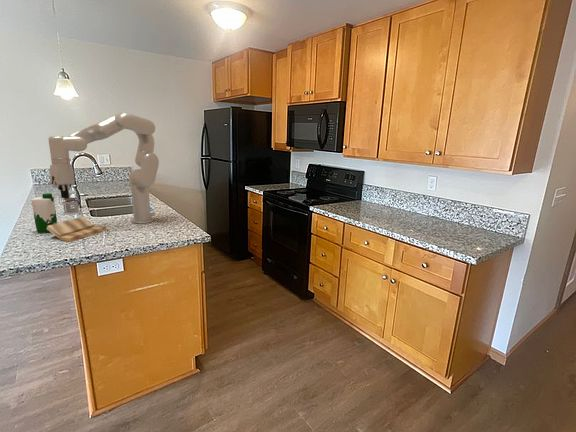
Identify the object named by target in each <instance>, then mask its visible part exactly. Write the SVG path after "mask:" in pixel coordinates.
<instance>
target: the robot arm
mask: <svg viewBox="0 0 576 432" xmlns="http://www.w3.org/2000/svg"><path fill="white" fill-rule="evenodd" d="M123 130H129V131H132V132H134V134H136V136H137V139H138V145H137V150H136V154H135V157H134V158H135V159H134V162H135V164H136V165H137V166H138V167H139V169H138V168H137V169H132V171H130V173H129V175H128V181H129V185H130V190H131V200H132V201H131V202H132V213H133V218H132V219H130V222H131V223H132V224H136V223H139V224H141V223H143V224H149V223H152V222H154V221H153V220H154V218H153V216H155V215H156V212H151V202H150V190H149V188H150V187H151V186H153V184H154V183H155V181H156V177H157V174H158V169H159V165H160V164H159V163H160V160H159V157H158V156H157V154H156V153H154V150H155V137H154V135H153V134H154V133H155V132H156V125H155V123H154V122H153V121H152V120H150V119H147V118H144V117H141V116H137V115H134V114H131V113H129V112H118V113H115V114H113V115H111V116H109V117H106V118H105V119H103V120H100V121H98V122H97V123H94V124H92V125H90V126H88V127H85V128H83V129H80V130H78V131H75V132H74V133H72V134H70V135H68V136H59V135H52V136H48V147H49V151H50V152H49V153H50V159H51V160H50V161H51V162H50V163H51V164H50V166H49V181H50V185H52V187H53V188H54V189H57V190H59V191H60V198H61V199H64V198H70V195H69V191H68V190H71V189H70V188H71V187H72V186H75V182H76V181H75V179H76V177H75V173H74V169H73V166H72V163H71V162H72V159H71V158H70V152H84V151H85V150H86V149H87V148H88V145H89V144H90V143H93V142H96V141H101V140H105V139H108V138H110V137H112V136H113V135H115V134H117V133H120V132H121V131H123Z"/></svg>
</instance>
